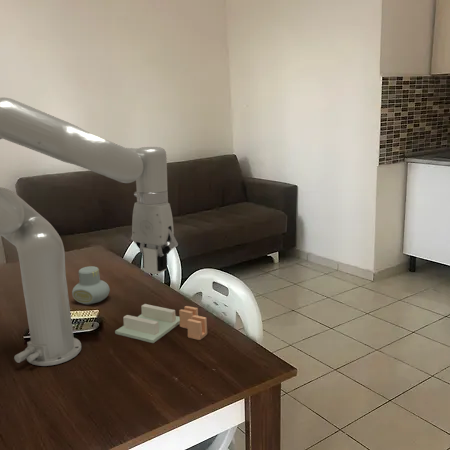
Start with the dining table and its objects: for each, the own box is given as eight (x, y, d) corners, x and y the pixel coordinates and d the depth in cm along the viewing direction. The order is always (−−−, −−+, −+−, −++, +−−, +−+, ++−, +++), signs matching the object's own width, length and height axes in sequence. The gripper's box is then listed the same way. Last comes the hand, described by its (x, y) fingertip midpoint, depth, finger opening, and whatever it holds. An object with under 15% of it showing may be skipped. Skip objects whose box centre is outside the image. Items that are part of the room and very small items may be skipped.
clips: (200, 340, 122) (199, 323, 121) (171, 333, 126) (170, 316, 125) (215, 327, 129) (214, 311, 128) (187, 321, 133) (186, 305, 132)
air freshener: (115, 297, 151) (112, 266, 148) (99, 308, 143) (96, 275, 141) (84, 293, 154) (81, 263, 152) (68, 303, 147) (64, 272, 144)
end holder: (153, 343, 122) (152, 329, 121) (115, 333, 127) (114, 320, 126) (183, 320, 133) (183, 307, 132) (148, 312, 139) (147, 300, 138)
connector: (156, 274, 123) (155, 243, 121) (144, 271, 125) (142, 241, 123) (166, 269, 127) (165, 239, 125) (153, 267, 129) (152, 237, 127)
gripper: (116, 197, 122) (119, 267, 127) (171, 203, 114) (173, 278, 119) (135, 192, 129) (138, 259, 133) (189, 198, 121) (190, 269, 125)
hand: (154, 267), depth 126 cm, fingers closed on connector, 4 cm apart
